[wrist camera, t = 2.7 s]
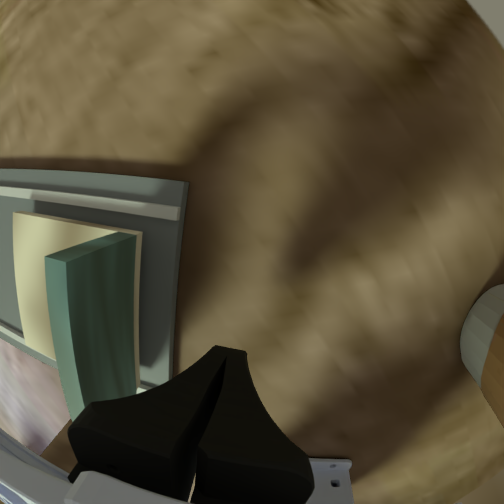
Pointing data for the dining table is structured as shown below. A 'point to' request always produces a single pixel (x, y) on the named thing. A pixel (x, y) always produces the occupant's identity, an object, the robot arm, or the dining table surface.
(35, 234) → the sliding tray
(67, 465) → the walnut block
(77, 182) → the track board
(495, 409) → the coffee cup
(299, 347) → the dining table surface
